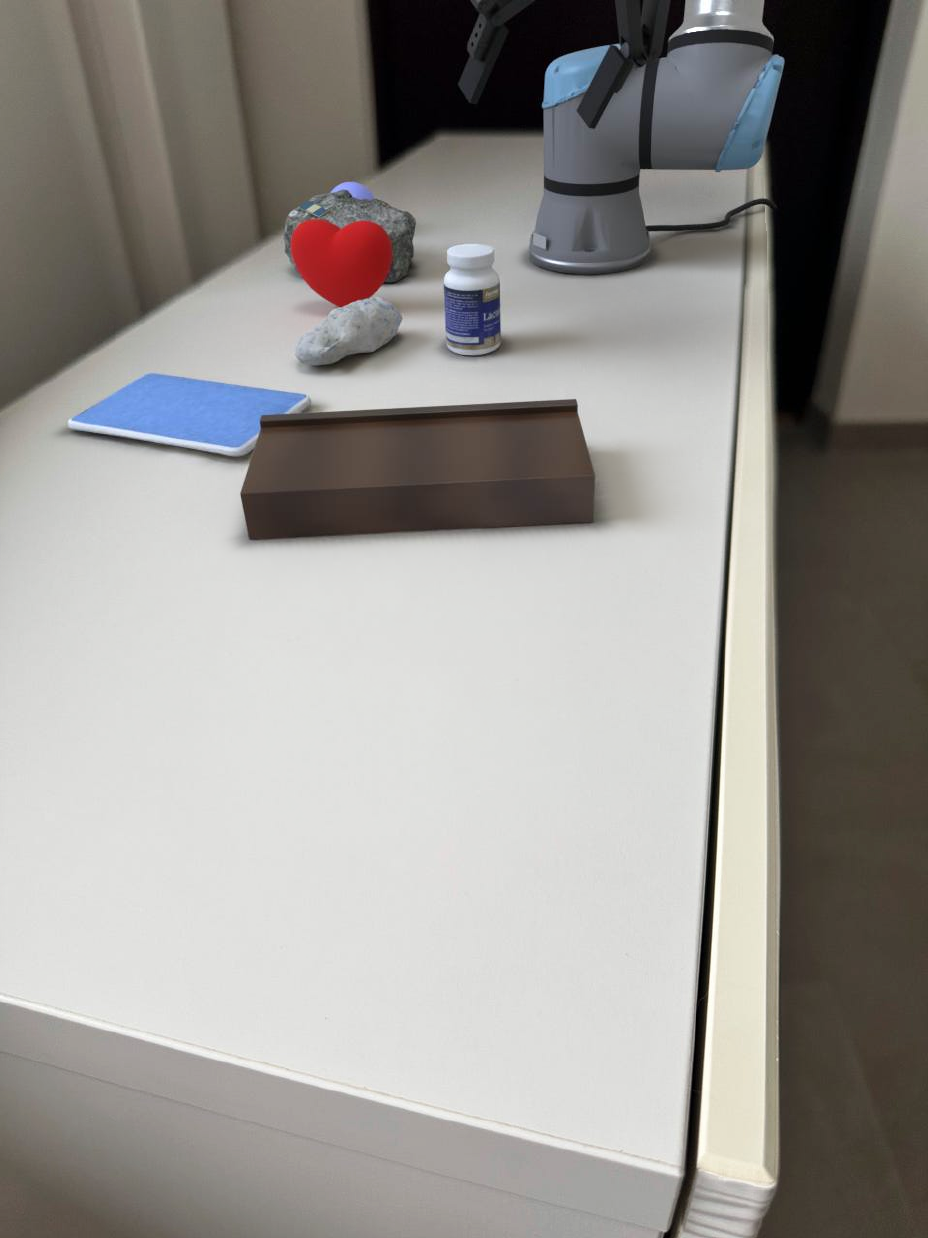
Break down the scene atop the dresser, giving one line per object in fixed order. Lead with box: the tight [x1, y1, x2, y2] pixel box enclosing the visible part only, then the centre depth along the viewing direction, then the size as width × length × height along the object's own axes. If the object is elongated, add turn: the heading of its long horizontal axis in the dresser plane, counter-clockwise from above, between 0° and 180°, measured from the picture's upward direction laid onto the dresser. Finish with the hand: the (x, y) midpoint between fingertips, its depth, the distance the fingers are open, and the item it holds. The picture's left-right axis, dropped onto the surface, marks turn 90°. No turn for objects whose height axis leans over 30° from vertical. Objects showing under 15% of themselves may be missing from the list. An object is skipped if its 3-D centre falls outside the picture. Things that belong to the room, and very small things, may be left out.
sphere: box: [330, 181, 376, 200], centre depth 140 cm, size 7×7×7 cm
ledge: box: [239, 398, 596, 540], centre depth 80 cm, size 26×12×5 cm, turn 92°
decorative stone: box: [295, 296, 404, 366], centre depth 105 cm, size 13×7×5 cm, turn 148°
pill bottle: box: [443, 243, 502, 356], centre depth 103 cm, size 6×6×10 cm
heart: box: [291, 219, 392, 308], centre depth 114 cm, size 12×5×10 cm, turn 75°
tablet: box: [67, 372, 312, 458], centre depth 94 cm, size 19×13×1 cm, turn 67°
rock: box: [283, 190, 417, 283], centre depth 127 cm, size 18×14×10 cm
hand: (528, 107), depth 93 cm, fingers open, 13 cm apart
